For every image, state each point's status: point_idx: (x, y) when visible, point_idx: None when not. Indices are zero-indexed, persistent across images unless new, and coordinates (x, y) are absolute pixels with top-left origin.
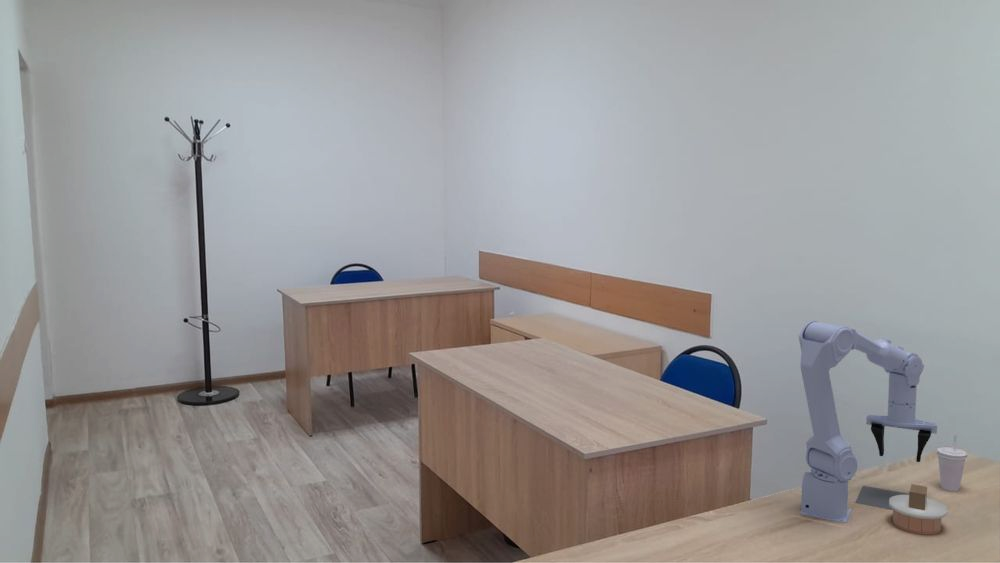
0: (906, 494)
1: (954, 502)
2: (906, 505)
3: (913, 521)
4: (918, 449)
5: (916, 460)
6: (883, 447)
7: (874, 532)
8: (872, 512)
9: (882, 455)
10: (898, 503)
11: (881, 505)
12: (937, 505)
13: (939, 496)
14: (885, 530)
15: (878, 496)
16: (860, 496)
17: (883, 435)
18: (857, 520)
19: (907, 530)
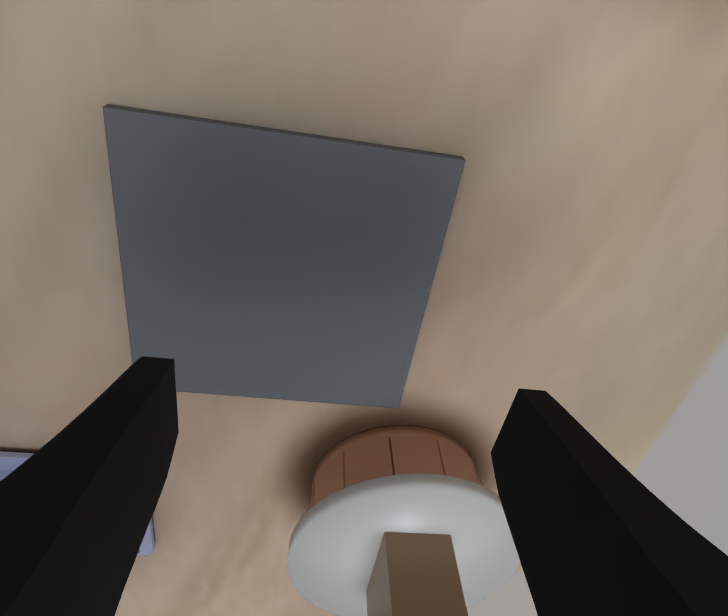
0: (391, 171)
1: (659, 159)
2: (358, 583)
3: None
4: (545, 609)
5: (494, 465)
6: (144, 441)
7: (254, 556)
8: (227, 432)
9: (173, 440)
10: (327, 579)
11: (257, 377)
12: (490, 546)
13: (605, 81)
14: (287, 536)
15: (230, 270)
16: (138, 308)
17: (54, 606)
18: (185, 508)
19: None
